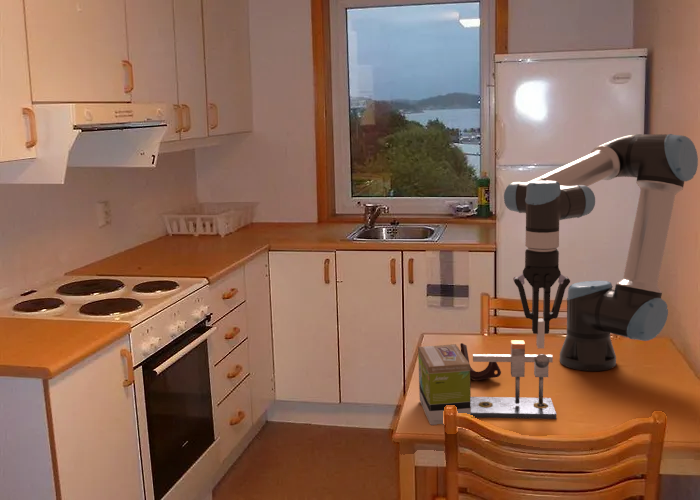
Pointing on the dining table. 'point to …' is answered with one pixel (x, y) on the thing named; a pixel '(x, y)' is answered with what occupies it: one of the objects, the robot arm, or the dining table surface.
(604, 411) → the dining table surface
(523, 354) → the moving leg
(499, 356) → the beam
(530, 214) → the robot arm
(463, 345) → the bracket
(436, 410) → the tea box
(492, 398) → the board
